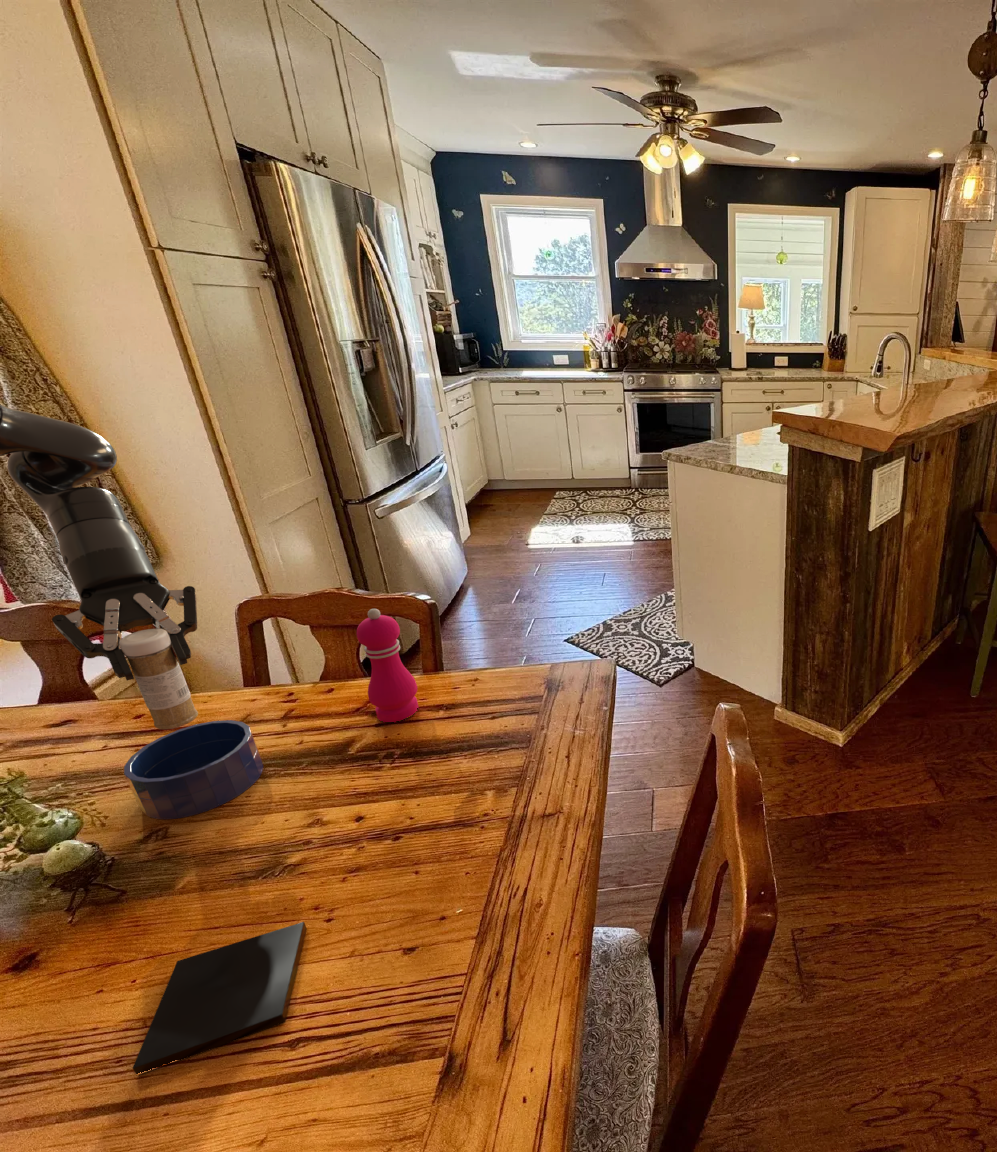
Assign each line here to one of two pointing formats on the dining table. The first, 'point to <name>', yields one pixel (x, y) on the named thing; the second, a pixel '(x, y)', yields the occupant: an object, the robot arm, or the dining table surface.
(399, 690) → the pepper mill
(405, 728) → the dining table surface
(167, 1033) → the plate
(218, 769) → the bowl
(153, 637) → the sprinkles bottle
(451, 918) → the dining table surface
